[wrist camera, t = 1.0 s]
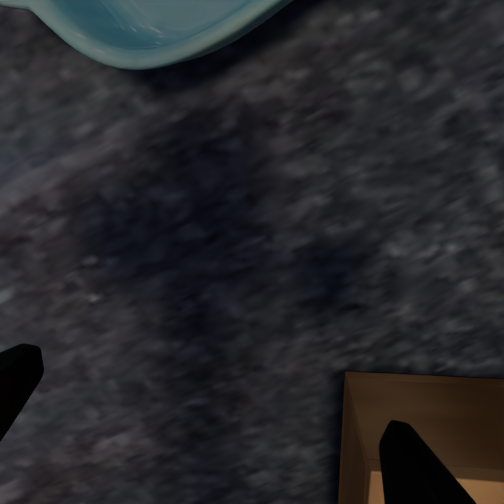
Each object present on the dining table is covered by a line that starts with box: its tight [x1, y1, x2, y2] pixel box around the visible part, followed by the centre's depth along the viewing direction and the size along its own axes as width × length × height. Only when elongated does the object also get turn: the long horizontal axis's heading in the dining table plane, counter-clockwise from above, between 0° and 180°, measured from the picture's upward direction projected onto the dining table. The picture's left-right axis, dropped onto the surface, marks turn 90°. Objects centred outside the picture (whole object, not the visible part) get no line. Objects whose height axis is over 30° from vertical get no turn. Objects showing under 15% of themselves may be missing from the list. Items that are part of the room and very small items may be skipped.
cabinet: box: [338, 371, 504, 504], centre depth 20 cm, size 15×13×8 cm
